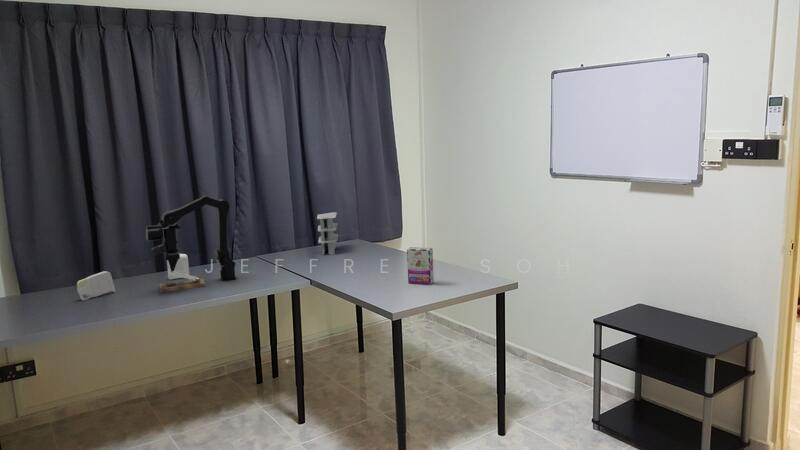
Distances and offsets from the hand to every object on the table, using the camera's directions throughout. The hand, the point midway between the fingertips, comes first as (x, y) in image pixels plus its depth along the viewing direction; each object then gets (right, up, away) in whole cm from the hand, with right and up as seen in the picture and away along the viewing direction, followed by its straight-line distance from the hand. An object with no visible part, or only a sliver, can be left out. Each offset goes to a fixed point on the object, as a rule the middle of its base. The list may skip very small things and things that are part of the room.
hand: (172, 271), depth 276 cm
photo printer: (-5, -5, +21) cm, 22 cm away
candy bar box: (+117, -5, -6) cm, 118 cm away
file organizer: (+65, +6, +72) cm, 98 cm away
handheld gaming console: (-31, -11, -8) cm, 34 cm away
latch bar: (+4, -3, +2) cm, 6 cm away
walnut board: (+4, -8, +3) cm, 9 cm away
